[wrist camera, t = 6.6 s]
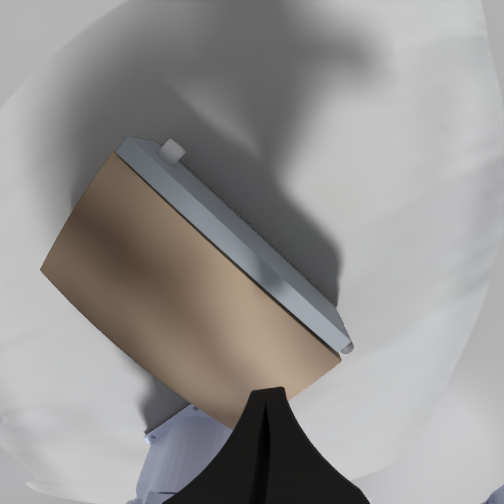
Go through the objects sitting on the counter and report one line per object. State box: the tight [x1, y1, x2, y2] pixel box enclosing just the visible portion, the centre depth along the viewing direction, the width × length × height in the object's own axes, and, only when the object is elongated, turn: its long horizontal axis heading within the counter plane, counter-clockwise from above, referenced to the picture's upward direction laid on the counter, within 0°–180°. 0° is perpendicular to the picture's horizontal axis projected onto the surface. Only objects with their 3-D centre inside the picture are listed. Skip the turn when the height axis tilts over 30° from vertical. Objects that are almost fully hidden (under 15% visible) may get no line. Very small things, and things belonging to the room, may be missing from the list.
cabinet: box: [40, 152, 341, 430], centre depth 18 cm, size 9×17×4 cm, turn 46°
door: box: [116, 136, 354, 354], centre depth 17 cm, size 2×17×4 cm, turn 47°
